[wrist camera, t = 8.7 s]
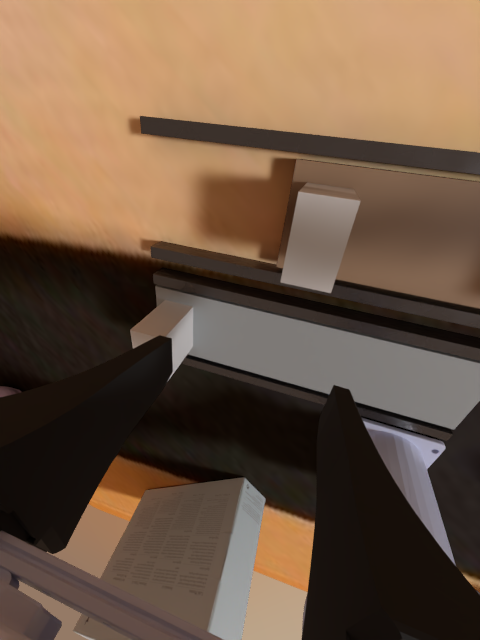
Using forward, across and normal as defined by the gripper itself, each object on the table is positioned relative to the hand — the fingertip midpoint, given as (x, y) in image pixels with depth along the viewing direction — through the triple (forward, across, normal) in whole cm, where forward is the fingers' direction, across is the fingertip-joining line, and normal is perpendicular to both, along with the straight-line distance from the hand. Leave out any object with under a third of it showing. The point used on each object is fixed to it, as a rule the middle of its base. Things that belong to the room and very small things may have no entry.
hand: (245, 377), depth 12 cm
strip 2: (+9, -3, +4) cm, 11 cm away
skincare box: (+10, +5, +35) cm, 37 cm away
